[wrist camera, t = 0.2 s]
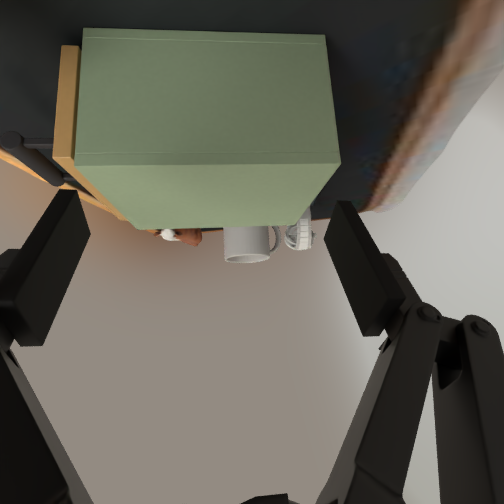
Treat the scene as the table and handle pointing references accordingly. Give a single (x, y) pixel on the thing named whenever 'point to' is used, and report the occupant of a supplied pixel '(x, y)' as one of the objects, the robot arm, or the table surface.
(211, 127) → the cabinet
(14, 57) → the table surface
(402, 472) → the robot arm
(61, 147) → the drawer
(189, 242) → the bull figurine
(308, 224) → the watch
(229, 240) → the mug
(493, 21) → the table surface
